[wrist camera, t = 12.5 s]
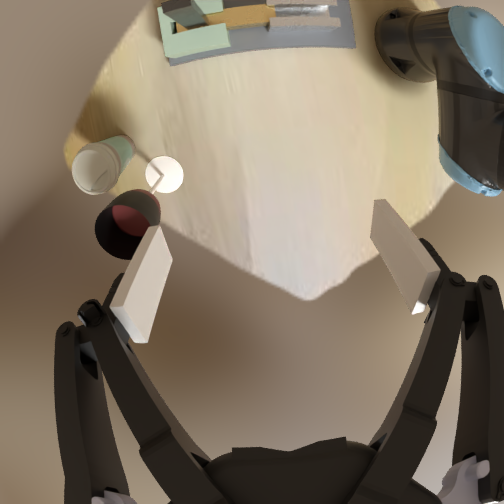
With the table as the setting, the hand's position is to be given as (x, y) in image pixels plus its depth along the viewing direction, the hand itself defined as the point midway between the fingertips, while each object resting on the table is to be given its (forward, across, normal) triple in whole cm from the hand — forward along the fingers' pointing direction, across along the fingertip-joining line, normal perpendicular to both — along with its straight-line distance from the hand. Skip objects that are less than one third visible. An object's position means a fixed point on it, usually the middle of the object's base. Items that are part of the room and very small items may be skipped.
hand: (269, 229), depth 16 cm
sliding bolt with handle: (+30, -2, +19) cm, 36 cm away
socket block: (+31, -7, +19) cm, 37 cm away
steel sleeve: (+31, +9, +19) cm, 38 cm away
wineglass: (+33, -18, -6) cm, 38 cm away
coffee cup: (+33, -25, +1) cm, 41 cm away
